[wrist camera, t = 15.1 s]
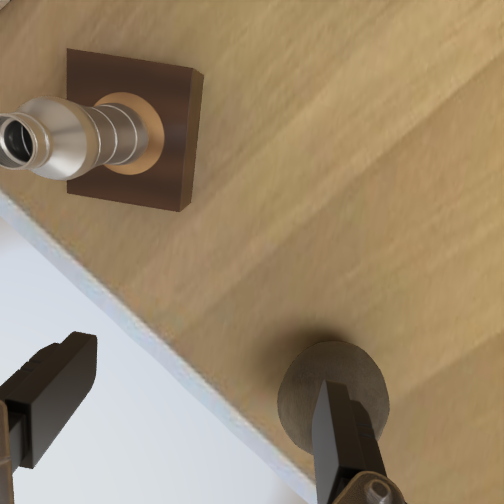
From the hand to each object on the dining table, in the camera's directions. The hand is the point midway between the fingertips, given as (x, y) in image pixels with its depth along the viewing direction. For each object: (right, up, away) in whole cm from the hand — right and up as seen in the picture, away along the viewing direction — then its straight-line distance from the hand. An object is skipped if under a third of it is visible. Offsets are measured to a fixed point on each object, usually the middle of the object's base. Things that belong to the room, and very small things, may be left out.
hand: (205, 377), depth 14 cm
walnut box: (-12, +20, +37) cm, 43 cm away
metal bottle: (-13, +18, +31) cm, 38 cm away
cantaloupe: (+13, -12, +45) cm, 49 cm away
